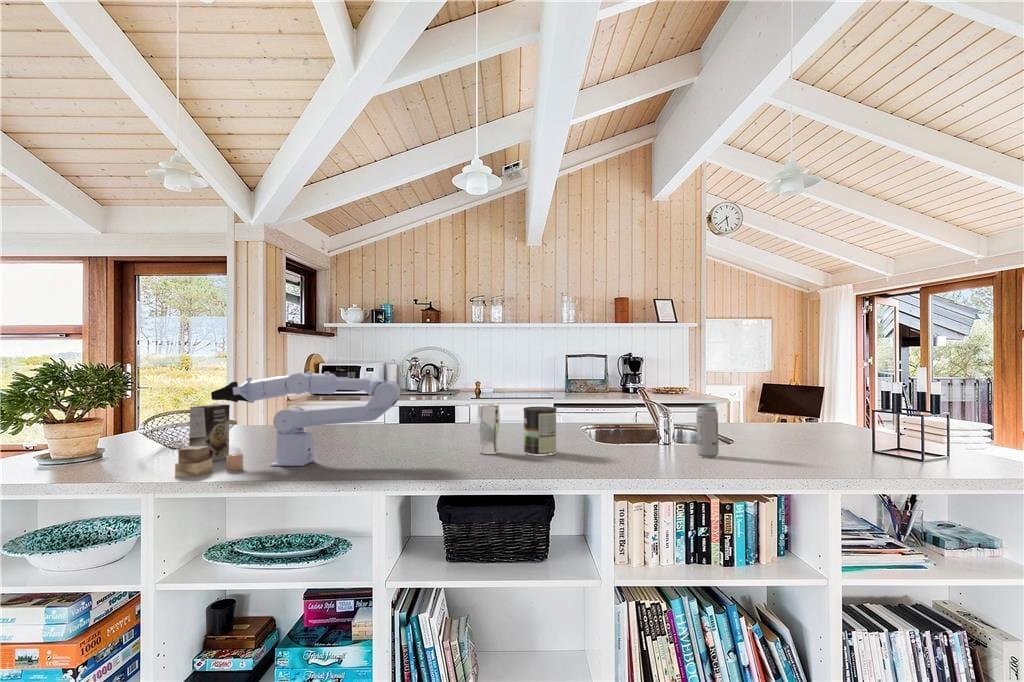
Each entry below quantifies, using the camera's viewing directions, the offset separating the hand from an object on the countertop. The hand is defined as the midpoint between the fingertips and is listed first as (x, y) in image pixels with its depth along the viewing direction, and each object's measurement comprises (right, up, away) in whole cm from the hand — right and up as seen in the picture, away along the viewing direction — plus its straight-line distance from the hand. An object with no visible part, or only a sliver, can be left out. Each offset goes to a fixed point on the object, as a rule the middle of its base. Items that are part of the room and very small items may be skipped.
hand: (218, 396), depth 154 cm
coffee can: (+92, -19, +15) cm, 95 cm away
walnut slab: (0, -16, -12) cm, 20 cm away
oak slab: (0, -19, -13) cm, 23 cm away
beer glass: (+76, -20, +16) cm, 80 cm away
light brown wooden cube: (+8, -19, -8) cm, 22 cm away
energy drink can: (+141, -19, +9) cm, 143 cm away
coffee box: (-6, -20, +6) cm, 21 cm away
